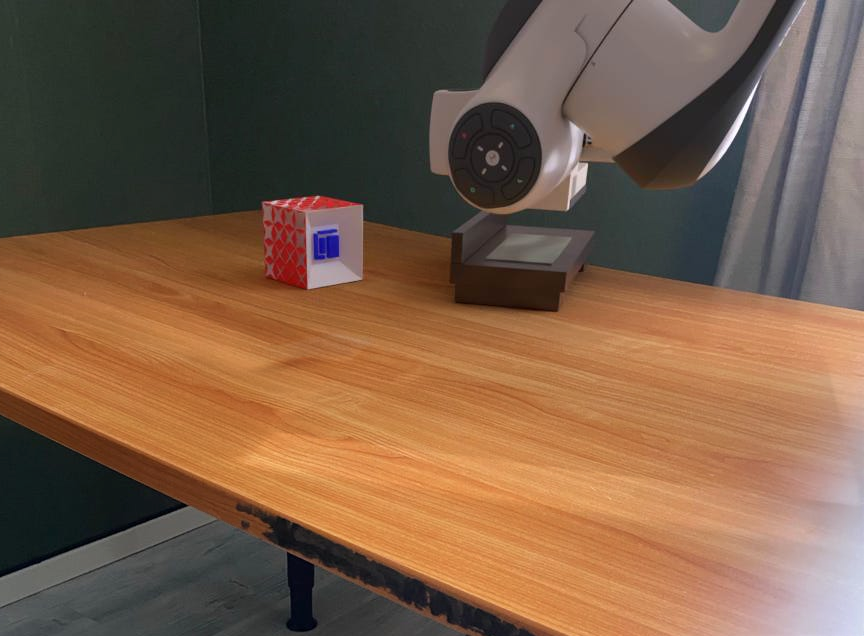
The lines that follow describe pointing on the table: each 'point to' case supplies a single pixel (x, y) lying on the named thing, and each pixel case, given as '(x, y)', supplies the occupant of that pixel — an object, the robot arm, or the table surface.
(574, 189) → the white upright block
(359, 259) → the red and white cube
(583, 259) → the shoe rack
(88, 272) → the table surface
